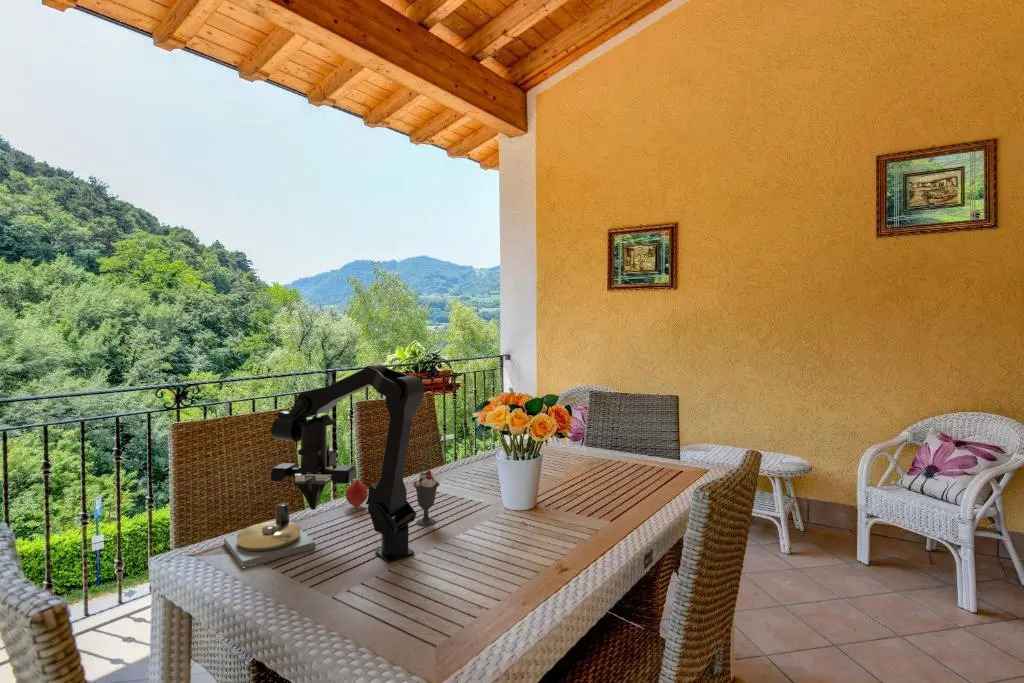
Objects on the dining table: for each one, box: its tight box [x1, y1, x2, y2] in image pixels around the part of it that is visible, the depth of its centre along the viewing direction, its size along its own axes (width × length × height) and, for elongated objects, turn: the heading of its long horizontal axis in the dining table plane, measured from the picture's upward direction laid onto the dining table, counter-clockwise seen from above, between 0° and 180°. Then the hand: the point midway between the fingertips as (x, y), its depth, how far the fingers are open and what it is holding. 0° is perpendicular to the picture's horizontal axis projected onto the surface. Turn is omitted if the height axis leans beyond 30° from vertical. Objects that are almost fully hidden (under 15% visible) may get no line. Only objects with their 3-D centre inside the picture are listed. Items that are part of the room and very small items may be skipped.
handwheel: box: [236, 502, 301, 551], centre depth 120 cm, size 13×13×6 cm
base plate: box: [223, 528, 316, 568], centre depth 120 cm, size 15×15×2 cm
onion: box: [345, 478, 368, 508], centre depth 145 cm, size 6×6×8 cm
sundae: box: [412, 465, 440, 527], centre depth 135 cm, size 7×7×15 cm
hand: (313, 509), depth 125 cm, fingers closed
